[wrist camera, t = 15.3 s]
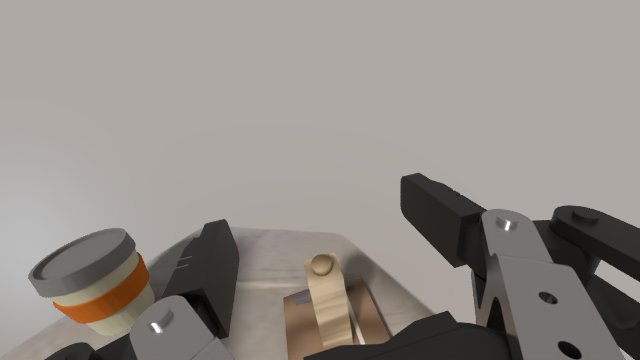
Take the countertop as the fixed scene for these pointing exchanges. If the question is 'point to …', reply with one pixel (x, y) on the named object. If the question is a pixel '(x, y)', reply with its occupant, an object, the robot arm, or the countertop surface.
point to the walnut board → (305, 326)
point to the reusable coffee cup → (97, 281)
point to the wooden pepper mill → (329, 300)
